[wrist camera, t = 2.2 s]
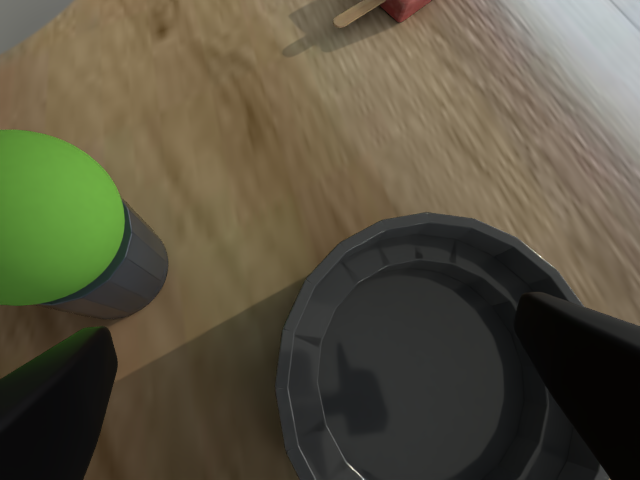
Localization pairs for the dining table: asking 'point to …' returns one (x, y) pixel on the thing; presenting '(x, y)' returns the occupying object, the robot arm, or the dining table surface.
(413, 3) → the popsicle
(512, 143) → the dining table surface
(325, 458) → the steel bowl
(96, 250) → the ball
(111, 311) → the stand cup
